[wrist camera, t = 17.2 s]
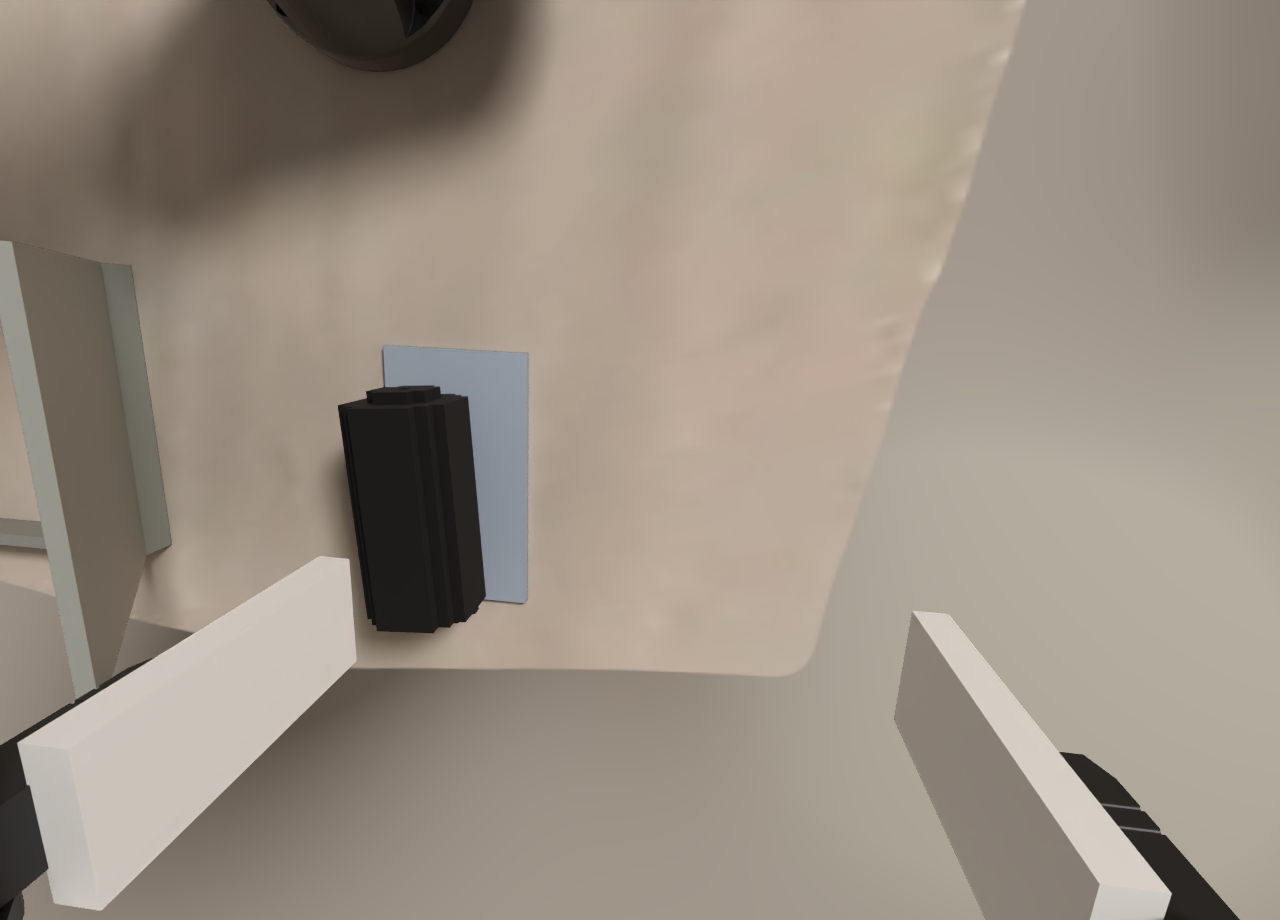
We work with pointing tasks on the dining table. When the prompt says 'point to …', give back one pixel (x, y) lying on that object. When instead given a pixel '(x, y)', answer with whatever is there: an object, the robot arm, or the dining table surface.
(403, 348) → the mat
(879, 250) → the dining table surface
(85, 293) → the case
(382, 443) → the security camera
